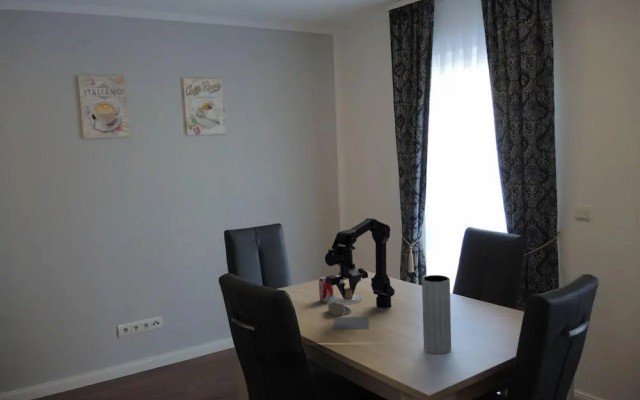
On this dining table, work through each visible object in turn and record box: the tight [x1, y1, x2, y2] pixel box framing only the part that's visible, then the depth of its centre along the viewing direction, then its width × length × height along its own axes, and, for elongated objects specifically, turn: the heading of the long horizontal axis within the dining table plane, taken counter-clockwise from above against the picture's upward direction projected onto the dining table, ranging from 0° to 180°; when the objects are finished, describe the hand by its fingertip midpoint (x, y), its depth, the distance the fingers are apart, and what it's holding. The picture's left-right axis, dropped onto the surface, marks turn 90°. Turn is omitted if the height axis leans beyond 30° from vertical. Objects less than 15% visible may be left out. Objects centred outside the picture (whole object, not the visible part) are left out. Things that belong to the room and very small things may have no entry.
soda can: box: [318, 275, 335, 303], centre depth 264 cm, size 7×7×12 cm
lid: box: [334, 287, 363, 306], centre depth 230 cm, size 12×12×5 cm
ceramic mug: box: [327, 295, 352, 317], centre depth 244 cm, size 11×8×8 cm
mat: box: [332, 316, 370, 331], centre depth 229 cm, size 15×15×1 cm
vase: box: [421, 274, 452, 355], centre depth 198 cm, size 10×10×27 cm
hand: (347, 296), depth 230 cm, fingers closed on lid, 4 cm apart
